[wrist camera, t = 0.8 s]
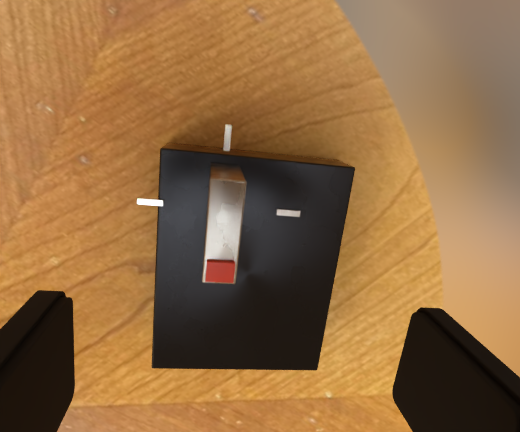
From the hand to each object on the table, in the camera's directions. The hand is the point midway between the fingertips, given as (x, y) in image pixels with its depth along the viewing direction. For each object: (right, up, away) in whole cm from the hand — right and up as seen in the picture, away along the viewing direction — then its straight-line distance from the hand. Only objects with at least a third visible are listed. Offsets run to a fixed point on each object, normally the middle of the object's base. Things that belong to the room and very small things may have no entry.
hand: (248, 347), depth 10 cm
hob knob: (-2, +4, +11) cm, 12 cm away
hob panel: (-1, +1, +15) cm, 15 cm away
